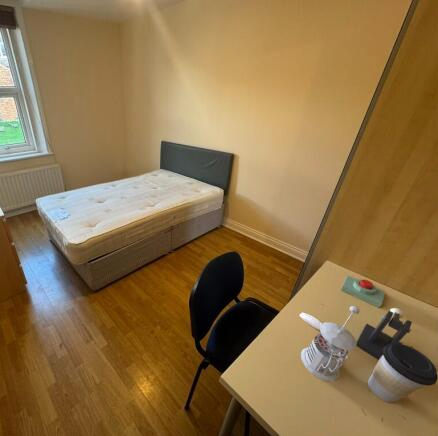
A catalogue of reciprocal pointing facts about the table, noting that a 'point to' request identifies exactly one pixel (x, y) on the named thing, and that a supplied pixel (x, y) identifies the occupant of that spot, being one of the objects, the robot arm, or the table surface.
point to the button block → (363, 291)
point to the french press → (329, 350)
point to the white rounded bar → (311, 320)
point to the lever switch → (396, 319)
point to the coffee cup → (401, 373)
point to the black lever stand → (380, 336)
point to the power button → (366, 284)
